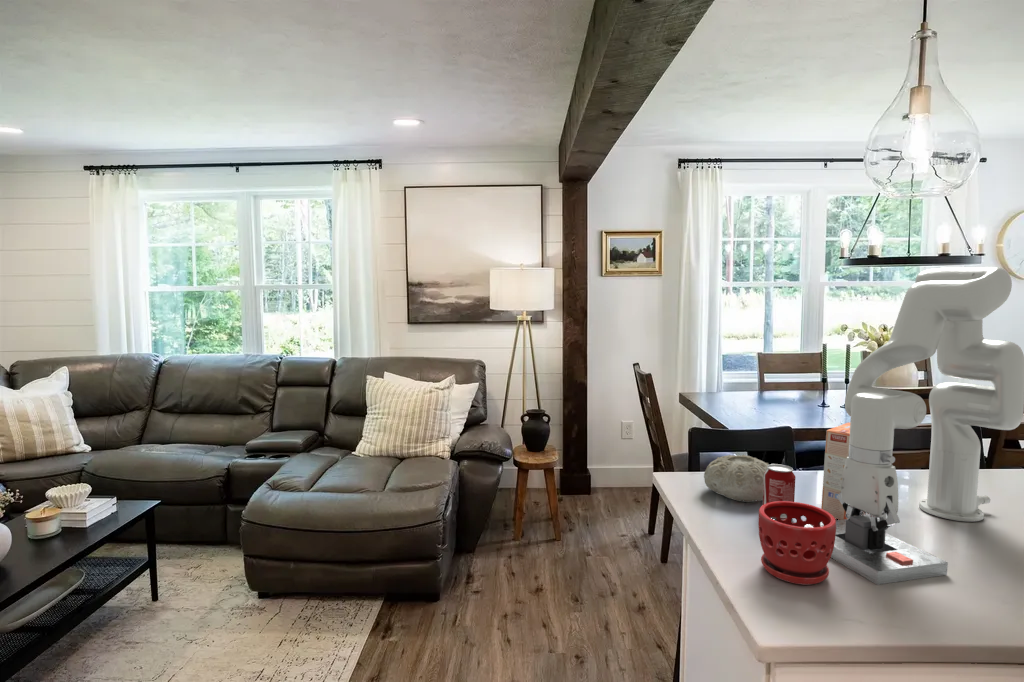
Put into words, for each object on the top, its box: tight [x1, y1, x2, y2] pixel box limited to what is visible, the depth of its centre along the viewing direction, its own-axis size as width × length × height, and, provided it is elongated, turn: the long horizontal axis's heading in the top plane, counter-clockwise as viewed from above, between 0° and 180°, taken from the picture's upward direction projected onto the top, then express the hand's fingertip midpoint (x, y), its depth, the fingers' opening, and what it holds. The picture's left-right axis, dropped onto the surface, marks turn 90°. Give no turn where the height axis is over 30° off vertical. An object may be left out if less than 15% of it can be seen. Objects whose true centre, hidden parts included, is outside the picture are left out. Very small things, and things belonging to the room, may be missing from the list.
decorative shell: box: [703, 454, 769, 503], centre depth 154 cm, size 18×18×10 cm
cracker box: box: [820, 422, 850, 520], centre depth 142 cm, size 14×6×21 cm, turn 131°
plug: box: [845, 513, 887, 550], centre depth 120 cm, size 5×4×5 cm
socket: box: [804, 519, 949, 586], centre depth 120 cm, size 16×22×3 cm
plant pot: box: [757, 501, 837, 586], centre depth 111 cm, size 13×13×12 cm
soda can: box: [762, 463, 796, 520], centre depth 139 cm, size 7×7×12 cm
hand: (864, 542), depth 120 cm, fingers closed on plug, 4 cm apart
